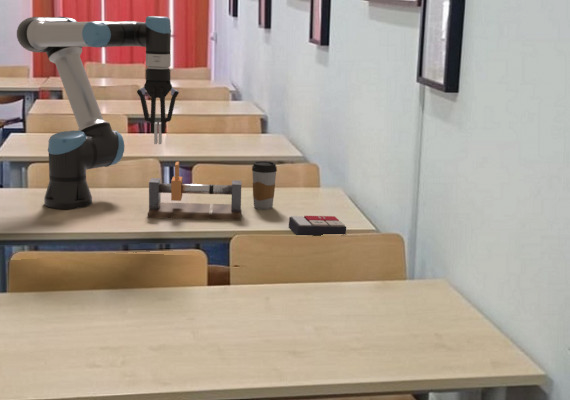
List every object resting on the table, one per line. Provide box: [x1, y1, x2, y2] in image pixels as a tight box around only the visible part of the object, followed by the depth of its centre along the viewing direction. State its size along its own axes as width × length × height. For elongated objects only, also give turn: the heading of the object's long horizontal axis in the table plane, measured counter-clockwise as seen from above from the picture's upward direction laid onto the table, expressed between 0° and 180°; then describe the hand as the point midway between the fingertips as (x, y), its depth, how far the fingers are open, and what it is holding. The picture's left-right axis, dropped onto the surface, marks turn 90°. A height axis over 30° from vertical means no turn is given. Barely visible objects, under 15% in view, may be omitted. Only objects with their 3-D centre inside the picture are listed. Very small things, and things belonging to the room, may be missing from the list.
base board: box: [147, 202, 242, 221], centre depth 263 cm, size 29×14×2 cm, turn 93°
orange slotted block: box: [170, 161, 183, 202], centre depth 260 cm, size 3×6×11 cm, turn 3°
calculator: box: [288, 215, 347, 236], centre depth 248 cm, size 11×4×15 cm
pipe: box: [148, 177, 242, 213], centre depth 262 cm, size 29×6×9 cm, turn 93°
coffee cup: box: [251, 160, 278, 210], centre depth 272 cm, size 8×8×15 cm
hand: (158, 143), depth 257 cm, fingers closed
